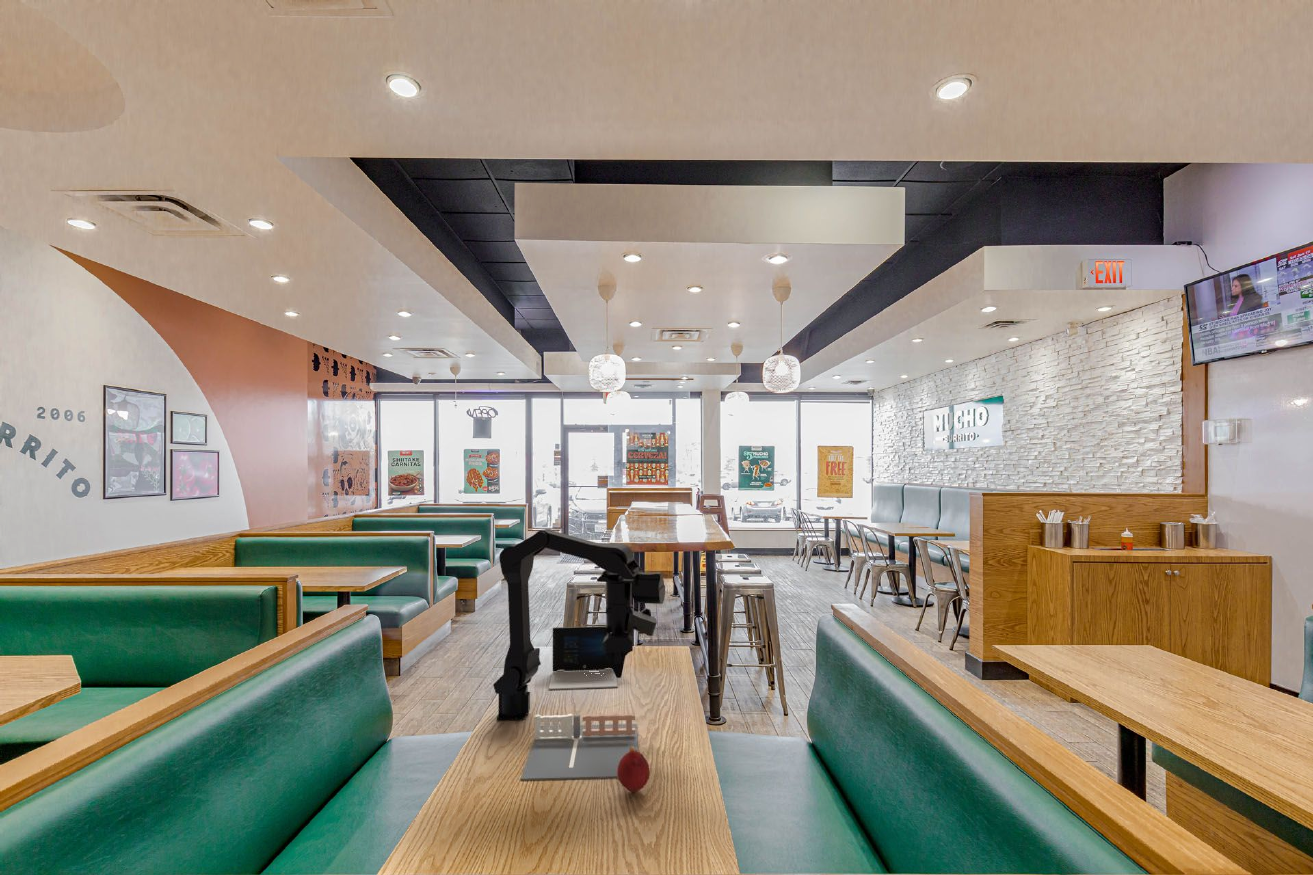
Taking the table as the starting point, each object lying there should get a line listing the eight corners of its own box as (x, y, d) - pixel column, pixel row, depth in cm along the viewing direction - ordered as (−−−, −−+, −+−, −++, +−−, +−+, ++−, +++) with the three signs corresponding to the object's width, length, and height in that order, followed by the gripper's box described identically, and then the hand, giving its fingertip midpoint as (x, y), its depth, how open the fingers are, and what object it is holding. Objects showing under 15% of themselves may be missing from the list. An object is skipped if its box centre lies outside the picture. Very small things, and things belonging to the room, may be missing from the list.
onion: (654, 786, 108) (654, 742, 109) (643, 804, 103) (643, 757, 103) (624, 781, 110) (624, 737, 111) (612, 797, 105) (612, 751, 105)
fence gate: (573, 738, 126) (573, 717, 126) (573, 734, 128) (573, 714, 128) (635, 736, 127) (635, 715, 127) (635, 733, 128) (635, 712, 128)
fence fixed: (534, 739, 126) (535, 716, 126) (535, 737, 127) (535, 714, 127) (571, 738, 126) (571, 715, 127) (572, 736, 127) (572, 713, 128)
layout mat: (520, 780, 111) (520, 778, 111) (538, 727, 132) (538, 725, 133) (638, 777, 112) (638, 775, 112) (637, 725, 134) (637, 723, 134)
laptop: (548, 691, 154) (548, 640, 154) (552, 674, 166) (552, 627, 167) (617, 689, 155) (617, 638, 156) (616, 672, 168) (616, 625, 168)
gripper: (656, 611, 125) (656, 686, 124) (653, 591, 143) (653, 657, 143) (603, 612, 124) (603, 687, 124) (606, 592, 143) (607, 658, 142)
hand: (619, 671), depth 133 cm, fingers open, 7 cm apart
